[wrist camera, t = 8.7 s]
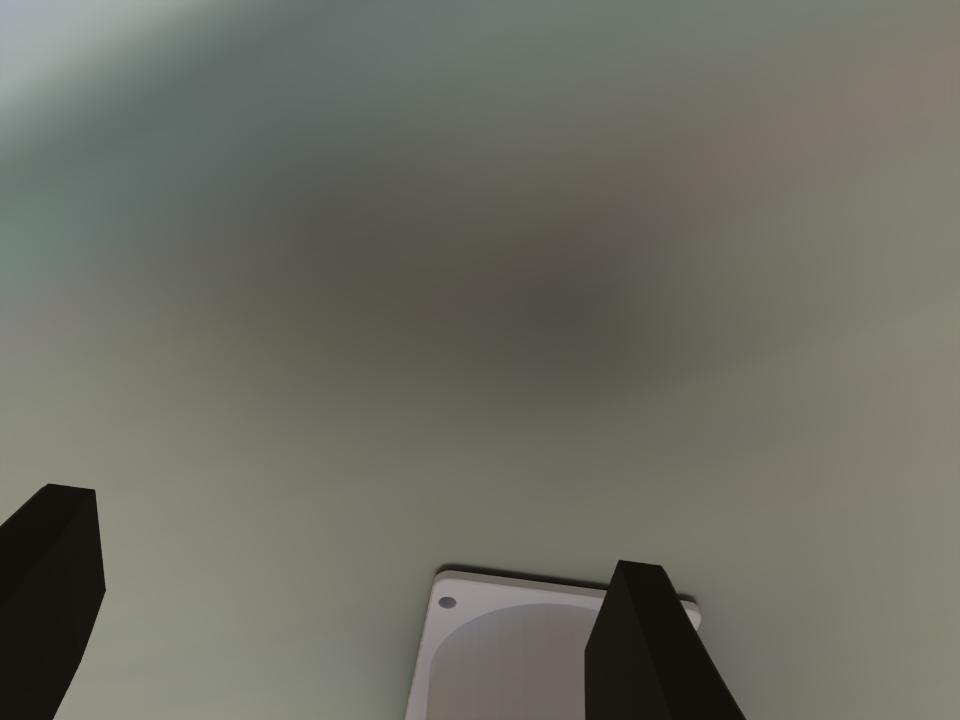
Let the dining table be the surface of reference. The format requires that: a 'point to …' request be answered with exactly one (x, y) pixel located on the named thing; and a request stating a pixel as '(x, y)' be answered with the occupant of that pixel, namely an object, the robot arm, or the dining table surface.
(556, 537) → the dining table surface
